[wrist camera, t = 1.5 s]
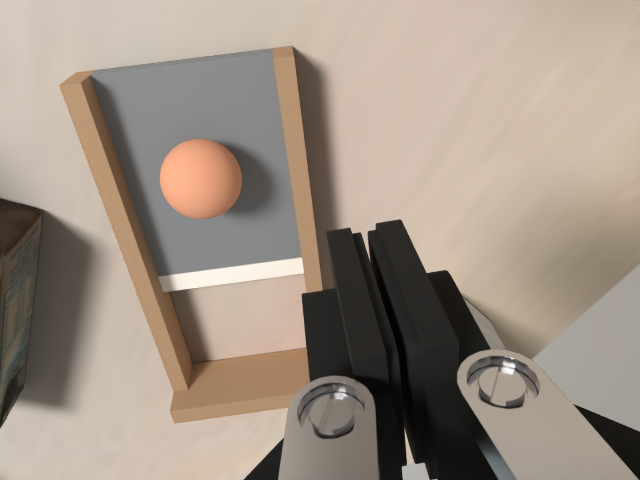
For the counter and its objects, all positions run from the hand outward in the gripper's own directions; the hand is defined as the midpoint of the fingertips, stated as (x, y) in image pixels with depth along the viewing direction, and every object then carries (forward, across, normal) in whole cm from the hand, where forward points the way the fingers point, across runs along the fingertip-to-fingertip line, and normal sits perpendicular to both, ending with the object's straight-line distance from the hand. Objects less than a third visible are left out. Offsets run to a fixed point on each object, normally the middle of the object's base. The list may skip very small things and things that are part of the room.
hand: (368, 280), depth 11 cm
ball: (+20, +8, +5) cm, 22 cm away
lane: (+24, +8, +12) cm, 28 cm away
